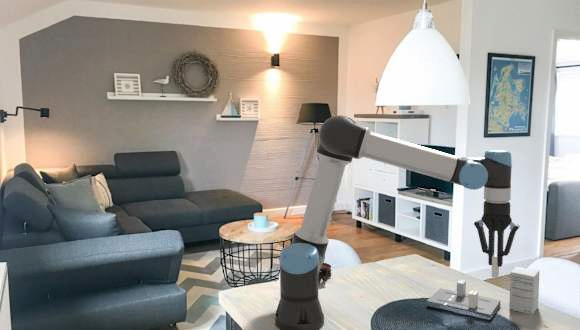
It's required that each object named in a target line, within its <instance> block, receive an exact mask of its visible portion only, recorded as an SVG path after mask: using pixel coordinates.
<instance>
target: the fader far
mask: <svg viewBox="0 0 580 330" xmlns="http://www.w3.org/2000/svg"><path fill="white" fill-rule="evenodd" d="M466 284H467V280H462V279H459V280H458V281H456V291H457V296H461V297H463V296H464V295H465V293H466V292H467V291H466V290H467V289H466V288H467V285H466Z"/></svg>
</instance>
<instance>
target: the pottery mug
mask: <svg viewBox="0 0 580 330" xmlns="http://www.w3.org/2000/svg"><path fill="white" fill-rule="evenodd" d="M331 277H332V265H331V264H329V263H326V262H325V261H324V262H323V264H322V266H321V268H320V271H319V274H318V284H321V281H323V282H327V281H328V280H329V279H330V278H331Z"/></svg>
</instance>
